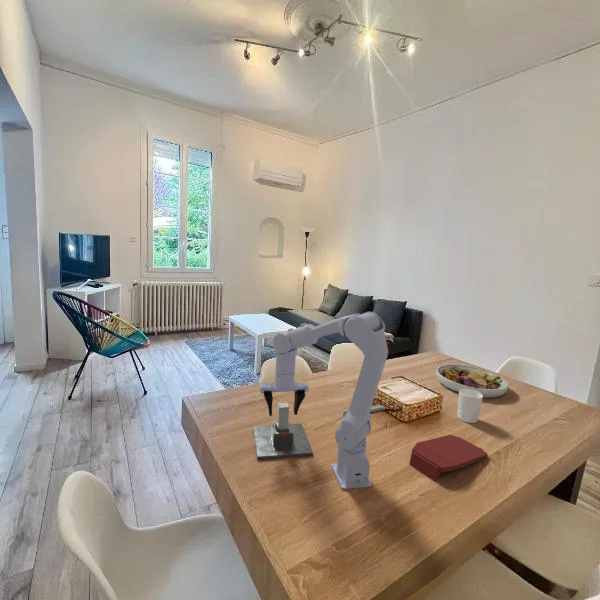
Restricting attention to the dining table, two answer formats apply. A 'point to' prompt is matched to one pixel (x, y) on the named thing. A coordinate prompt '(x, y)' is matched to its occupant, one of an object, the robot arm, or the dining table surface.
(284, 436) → the stand
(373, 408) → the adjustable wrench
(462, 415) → the white cup
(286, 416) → the post
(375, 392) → the robot arm
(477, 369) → the bowl
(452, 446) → the dark red bent panel
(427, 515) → the dining table surface
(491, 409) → the dining table surface
